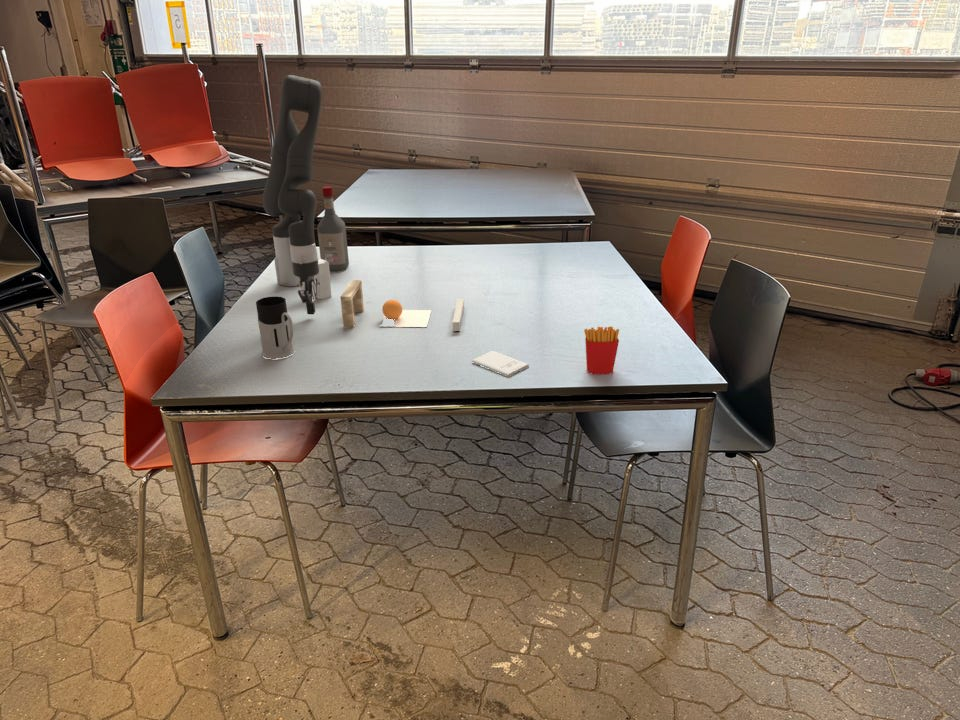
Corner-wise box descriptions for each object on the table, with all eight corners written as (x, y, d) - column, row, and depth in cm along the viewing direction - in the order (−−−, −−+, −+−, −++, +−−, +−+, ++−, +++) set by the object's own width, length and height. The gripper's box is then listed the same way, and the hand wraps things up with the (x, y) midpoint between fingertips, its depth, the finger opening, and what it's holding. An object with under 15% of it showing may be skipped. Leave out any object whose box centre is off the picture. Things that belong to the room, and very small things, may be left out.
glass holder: (285, 344, 185) (278, 293, 179) (311, 359, 176) (304, 306, 169) (256, 353, 180) (247, 301, 173) (281, 369, 170) (273, 315, 164)
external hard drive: (493, 355, 179) (528, 369, 171) (472, 365, 173) (508, 379, 165) (493, 350, 178) (529, 363, 170) (471, 359, 172) (508, 373, 165)
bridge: (343, 327, 196) (340, 296, 192) (354, 309, 209) (351, 280, 205) (353, 327, 196) (350, 296, 191) (363, 309, 209) (361, 280, 205)
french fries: (614, 367, 170) (617, 323, 164) (617, 374, 166) (620, 330, 161) (580, 367, 170) (583, 324, 164) (583, 374, 166) (586, 330, 161)
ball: (392, 299, 196) (404, 315, 198) (396, 293, 202) (408, 309, 203) (376, 309, 198) (388, 325, 200) (381, 303, 203) (392, 319, 205)
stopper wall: (452, 331, 192) (452, 322, 191) (457, 307, 210) (457, 298, 209) (459, 331, 192) (459, 322, 191) (464, 307, 210) (463, 298, 209)
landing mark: (379, 327, 196) (379, 326, 196) (387, 310, 208) (387, 309, 208) (426, 327, 195) (426, 327, 195) (431, 310, 208) (431, 310, 208)
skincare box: (311, 295, 222) (307, 260, 217) (323, 292, 225) (319, 257, 219) (321, 300, 218) (317, 264, 213) (333, 296, 220) (329, 261, 215)
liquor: (345, 272, 245) (337, 189, 232) (320, 272, 245) (311, 189, 233) (350, 264, 253) (342, 184, 241) (326, 264, 254) (317, 185, 241)
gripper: (298, 252, 201) (305, 305, 208) (285, 264, 189) (292, 321, 196) (322, 252, 201) (328, 306, 208) (311, 265, 189) (317, 321, 196)
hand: (311, 313), depth 202 cm, fingers closed
